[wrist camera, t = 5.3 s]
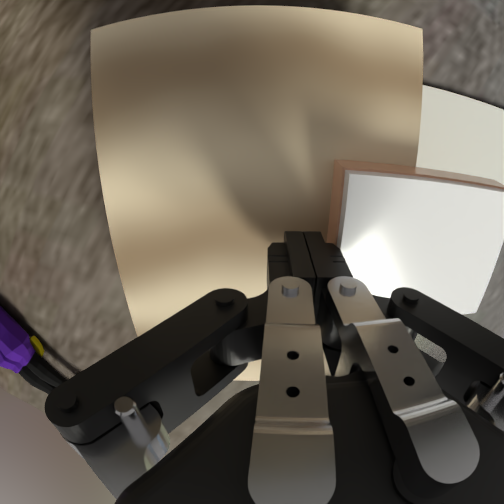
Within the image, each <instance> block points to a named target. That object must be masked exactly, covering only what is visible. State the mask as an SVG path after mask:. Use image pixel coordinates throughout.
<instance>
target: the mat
mask: <svg viewBox="0 0 504 504" xmlns="http://www.w3.org/2000/svg"><path fill="white" fill-rule="evenodd" d="M416 167H421V168H428V169H435V170H442V171H448V172H455V173H461V174H467V175H472V176H478V177H483V178H488V179H493V180H495V181H497V182H499V183H501V184H503V185H504V110H503V109H500V108H498V107H495V106H492V105H489V104H487V103H484V102H481V101H478V100H475V99H472V98H469V97H465V96H462V95H459V94H456V93H452V92H449V91H445V90H441V89H437V88H434V87H430V86H425V85H423V89H422V109H421V123H420V135H419V145H418V153H417V162H416Z"/></svg>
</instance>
